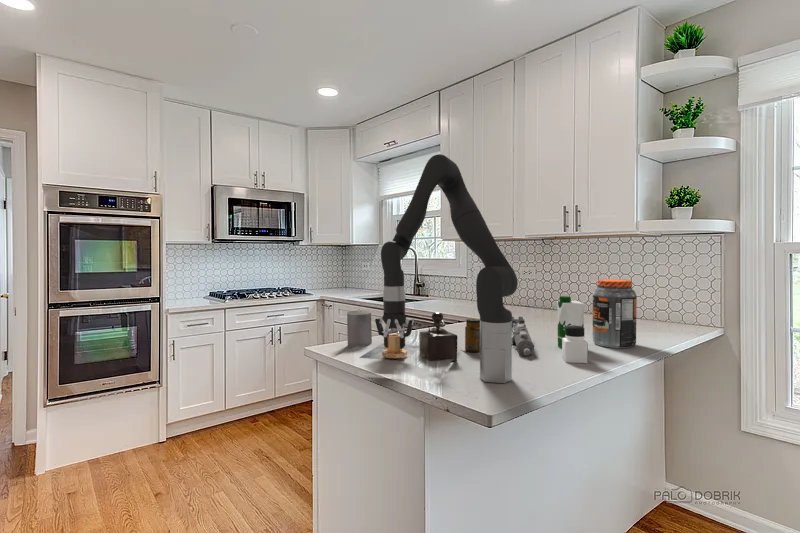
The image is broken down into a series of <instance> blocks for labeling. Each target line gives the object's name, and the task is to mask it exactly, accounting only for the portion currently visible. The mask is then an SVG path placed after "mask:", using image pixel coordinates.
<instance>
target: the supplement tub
mask: <svg viewBox="0 0 800 533" xmlns="http://www.w3.org/2000/svg"><path fill="white" fill-rule="evenodd" d="M596 282H597V283H596V288H595V289H594V290H593V291H592V292H593V293H592V342H593V343H594V344H596V345H597V346H600V347H601V346H602V347H604V348H605V347H607V348H611V349H612V348H614V349H627V348H628V349H629V348H633V347H635V346H636V344H637V305H638V304H637V302H638V301H637V298H638V297H637V293H636V291H635V290H634V289H633V288H632V286H633V281H632V280H630V279H620V278H619V279H617V278H606V279H605V278H602V279H597V281H596Z"/></svg>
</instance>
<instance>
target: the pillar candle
mask: <svg viewBox="0 0 800 533" xmlns="http://www.w3.org/2000/svg"><path fill="white" fill-rule="evenodd" d="M346 313H347V316H346V317H347V319H346V321H347V323H346V324H347V325H346V326H347V328H346V329H347V348H349V349H353V348H355V347H360V346H362V347H363V346H369V345H372V343H373V339H372V338H373V337H372V336H373V333H372V329H373V328H372V311H369V310H360V308H359V309H358V310H351V311H348V312H346Z"/></svg>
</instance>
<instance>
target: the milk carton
mask: <svg viewBox="0 0 800 533" xmlns="http://www.w3.org/2000/svg"><path fill="white" fill-rule="evenodd" d="M571 298H572V297H571V296H567V295H562V296H559V300H557V301H556V306H557V347H558V348H560V349H561V350H562V338H566V337H565V327H566V326H568V325H579V326H582V327H584V326H585V324H584V320H585V318H584V315H585V303H584V302H582V301H577V300H573V301H572V300H571ZM584 328H585V327H584Z"/></svg>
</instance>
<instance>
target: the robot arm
mask: <svg viewBox="0 0 800 533" xmlns="http://www.w3.org/2000/svg"><path fill="white" fill-rule="evenodd" d="M436 186H438V187H439V188H440V189H441V191H442V192H443V194H444V196H445V197H446V199H447V202H448V204H449V211H450V218H451V222H452V224H453V227H454V229H455V231H456V233H457V235H458V237H459V239H460V240H461V242H463V243H464V244H465V245H466V247H468V249H469V250H471V251H472V252H473V253H474V254H475V255H476V256H477V257H478V258H479V259H480V261H481V262H482V264H484V265H483V266H484V267H483V268H481V269H480V270H479V272H478V273H477V276H476V282H475V284H476V285H475V287H476V289H475V292H476V307H477V311H478V314H479V320H480V354H479V379H481V380H482V381H483V382H485V383H498V384H506V383H508V382H511V381H512V379H513V363H512V362H513V360H512V359H513V353H512V352H513V344H512V337H513V336H512V334H513V332H512V317H513V314H512V311H511V310H510V309H507V308H506V307H505V306H504V301H503V300H504V299H503V298H504V297H510V296H512V295H514V294H515V293H516V291H517V289H518V286H519V285H518V284H519V283H518V277H517V275H516V273H515V270H514V268H513V267H512V266H511V264H510V263H509V261H508V260H507V258H506V257H505V255H504V254H503V251H501V248H499V245H498V244H497V241H496V240H495V238H494V236H493V234H492V232H491V231H490V229H489V227H488V225H487V223H486V221H485V218H484V217H483V214H482V213H481V211H480V210H479V207H478V205H477V203H476V202H475V201H474V199H473V197H472V195H471V194H470V193H469V191H468V189H467V187H466V183H465V181H464V178H463V176H462V173H461V171H460V168H459V166H458V165H457V163H455V162H454V161H453V160H452V159H451V158H449V157H448V156H446V155H445V154H442V153H436V154H434V155H432V156H431V157H430V158H429V159H428V160H427V162H426V164H425V166H424V168H423V170H422V173H421V176H420V178H419V181H418V183H417V186H416V188H415V191H414V193H413V196H412V198H411V200H410V202H409V204H408V205H407V207H406V210H405V212H404V213H403V215H402V217H401V218H400V219H399V222H398V224H397V225H396V228H395V232H396V233H395V235H394V237H393V239H392V240H390V241H389V240H388V241H386V242H385V243H384V244H383V245H382V246H381V250H380V260H381V266H382V269H383V293H382V294H383V295H382V296H383V302H382V303H383V315H382V316H381V317H377V318H375V319H374V321H375V325H376V330H377V333H378V335H379V336H382V337H383V343H384V346H386V348H387V335H390V332H391V330H392V329H396V330H397V332H399V334H400V337H401V338H400V349H403V348H404V347H405V345H406V338H407V337H409V336H411V335H412V330H413V327H414V323H415V319H414V318H409V317H407V316H406V290H405V273H404V270H403V269H402V264H401V261H402V260H403V259H404V258H405V257H406V256H407V254H408V252H409V250H410V247H411V246H412V243H413V240H414V238H415V236H416V235H417V234H418V232H419V230H420V228H421V226H422V225H423V223H424V221H425V219H426V216H427V210H428V205H429V201H430V199H431V196H432V194H433V192H434V190H435V189H436ZM383 322H384V323H385V328H384V327H383ZM405 322H406V326H407V327H406V331H405V327H404V324H405Z"/></svg>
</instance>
